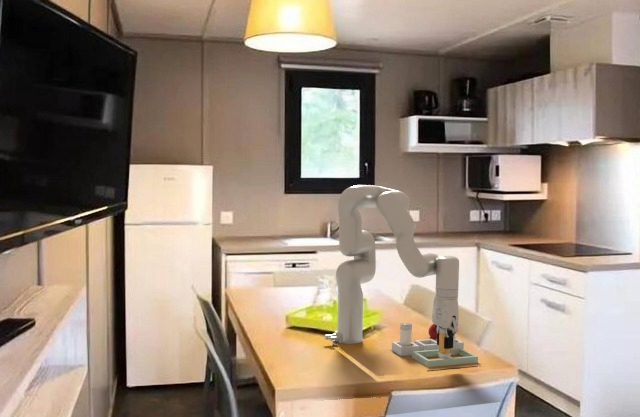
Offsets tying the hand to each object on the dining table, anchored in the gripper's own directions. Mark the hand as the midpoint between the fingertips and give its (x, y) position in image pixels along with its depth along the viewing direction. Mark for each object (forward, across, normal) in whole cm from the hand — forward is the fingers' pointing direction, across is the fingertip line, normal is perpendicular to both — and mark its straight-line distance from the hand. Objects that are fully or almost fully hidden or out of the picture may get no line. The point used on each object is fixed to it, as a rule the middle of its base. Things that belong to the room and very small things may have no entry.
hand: (444, 346), depth 208 cm
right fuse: (+5, -12, +9) cm, 15 cm away
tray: (+6, 0, 0) cm, 6 cm away
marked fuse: (+4, 0, 0) cm, 4 cm away
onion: (+6, -26, +12) cm, 30 cm away
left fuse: (+5, -12, -9) cm, 15 cm away
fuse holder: (+6, -12, 0) cm, 13 cm away
